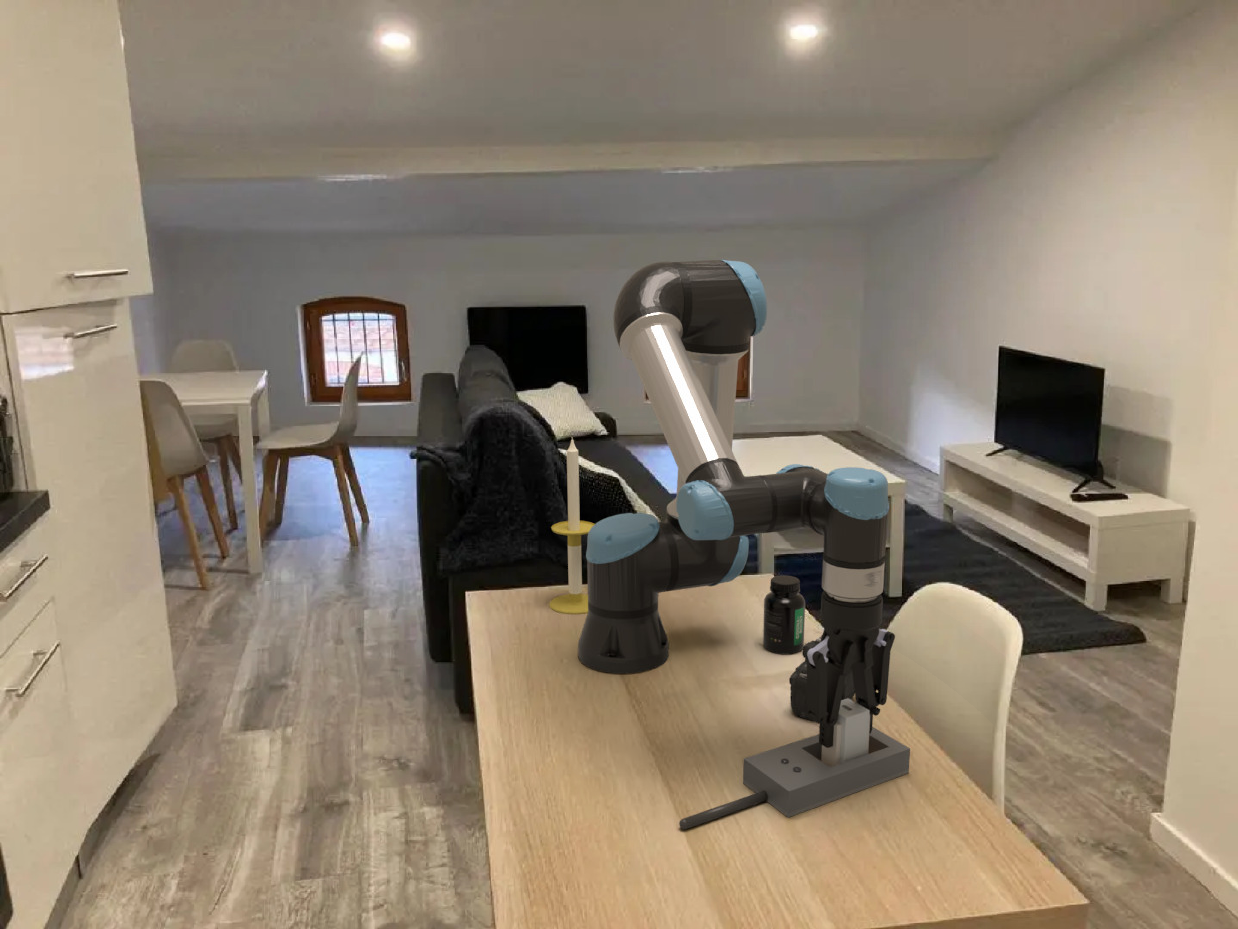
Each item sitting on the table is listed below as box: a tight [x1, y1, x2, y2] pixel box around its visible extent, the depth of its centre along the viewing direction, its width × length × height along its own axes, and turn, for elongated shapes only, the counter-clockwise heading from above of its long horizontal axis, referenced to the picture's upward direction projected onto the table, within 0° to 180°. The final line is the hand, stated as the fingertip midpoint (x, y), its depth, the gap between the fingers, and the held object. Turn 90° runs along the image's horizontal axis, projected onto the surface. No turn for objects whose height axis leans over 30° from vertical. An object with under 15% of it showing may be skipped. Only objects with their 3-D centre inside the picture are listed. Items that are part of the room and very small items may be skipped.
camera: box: [788, 634, 855, 722], centre depth 150 cm, size 13×10×10 cm
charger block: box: [837, 698, 870, 764], centre depth 130 cm, size 4×4×8 cm
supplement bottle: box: [762, 574, 806, 655], centre depth 170 cm, size 7×7×12 cm
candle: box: [549, 437, 596, 615], centre depth 188 cm, size 10×10×32 cm
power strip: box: [678, 726, 911, 830], centre depth 127 cm, size 33×9×4 cm, turn 120°
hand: (844, 761), depth 131 cm, fingers closed on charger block, 4 cm apart
